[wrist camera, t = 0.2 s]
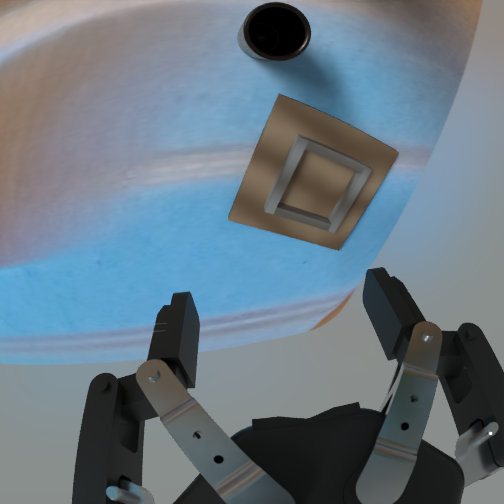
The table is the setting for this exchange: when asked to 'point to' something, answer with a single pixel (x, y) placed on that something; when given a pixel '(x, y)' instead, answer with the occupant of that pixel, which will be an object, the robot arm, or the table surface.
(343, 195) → the base
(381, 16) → the table surface
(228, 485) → the robot arm
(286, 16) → the grey cylinder
